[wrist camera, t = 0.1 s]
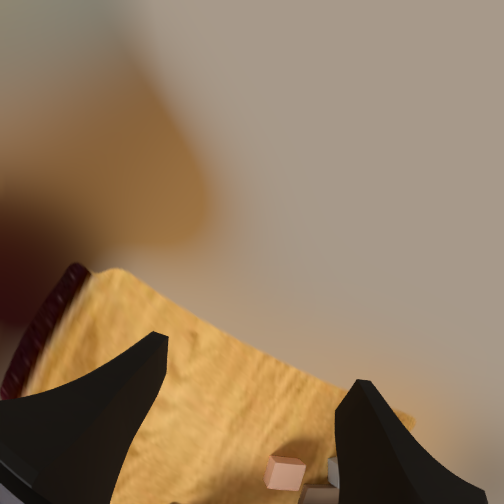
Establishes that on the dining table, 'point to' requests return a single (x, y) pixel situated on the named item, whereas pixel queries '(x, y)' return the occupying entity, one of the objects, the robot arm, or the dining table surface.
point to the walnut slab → (319, 494)
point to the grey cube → (333, 471)
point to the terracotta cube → (284, 473)
